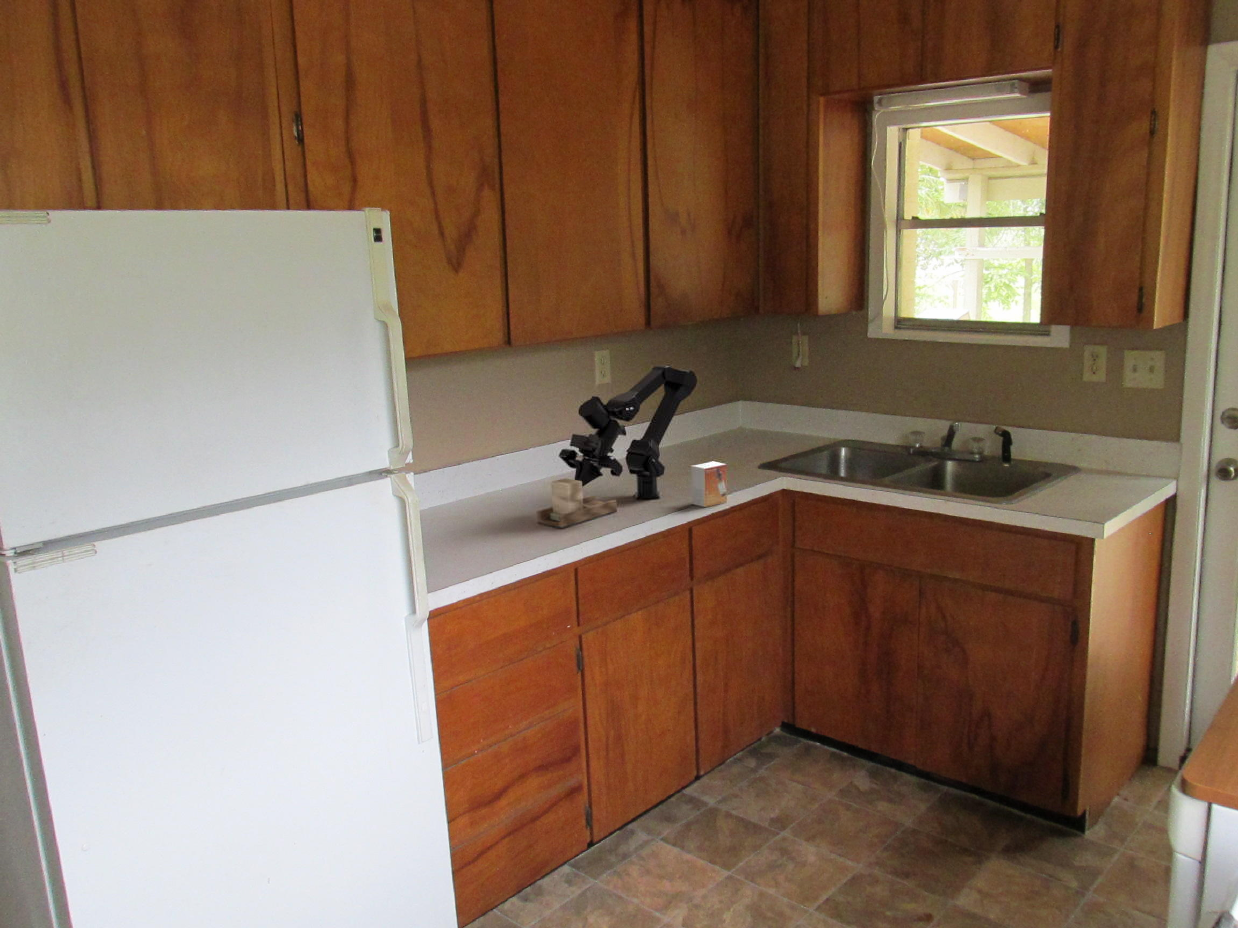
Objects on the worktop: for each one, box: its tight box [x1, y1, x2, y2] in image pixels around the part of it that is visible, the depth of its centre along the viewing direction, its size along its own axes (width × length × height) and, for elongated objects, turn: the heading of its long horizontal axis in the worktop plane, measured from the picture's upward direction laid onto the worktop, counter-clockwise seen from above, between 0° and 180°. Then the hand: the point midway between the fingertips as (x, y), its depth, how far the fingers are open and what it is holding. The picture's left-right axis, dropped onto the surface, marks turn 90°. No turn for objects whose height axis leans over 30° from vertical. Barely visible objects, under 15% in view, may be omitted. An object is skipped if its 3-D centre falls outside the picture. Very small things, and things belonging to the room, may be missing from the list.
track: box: [536, 495, 618, 530], centre depth 266 cm, size 20×9×3 cm, turn 136°
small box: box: [690, 460, 728, 508], centre depth 274 cm, size 8×6×10 cm
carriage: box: [550, 477, 584, 515], centre depth 262 cm, size 5×6×8 cm
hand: (574, 489), depth 264 cm, fingers closed, pressing on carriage
